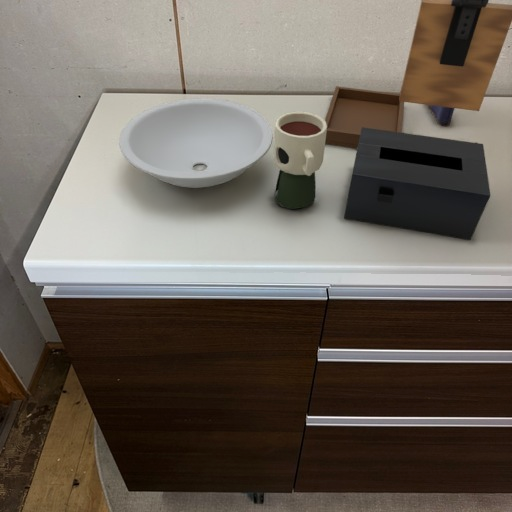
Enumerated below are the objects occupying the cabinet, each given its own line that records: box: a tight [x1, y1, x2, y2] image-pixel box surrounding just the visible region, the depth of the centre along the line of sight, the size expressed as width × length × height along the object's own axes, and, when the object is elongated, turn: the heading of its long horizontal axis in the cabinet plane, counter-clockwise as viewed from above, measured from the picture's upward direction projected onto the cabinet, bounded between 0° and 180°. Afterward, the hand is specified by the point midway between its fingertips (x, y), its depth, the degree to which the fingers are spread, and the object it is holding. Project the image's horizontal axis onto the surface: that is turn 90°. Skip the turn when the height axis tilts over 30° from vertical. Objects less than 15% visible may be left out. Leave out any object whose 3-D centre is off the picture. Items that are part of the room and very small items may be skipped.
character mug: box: [273, 111, 327, 210], centre depth 69 cm, size 11×7×13 cm, turn 12°
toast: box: [399, 0, 512, 112], centre depth 57 cm, size 10×2×12 cm, turn 75°
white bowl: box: [118, 97, 274, 189], centre depth 77 cm, size 24×24×7 cm
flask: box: [427, 105, 455, 127], centre depth 89 cm, size 9×3×11 cm, turn 1°
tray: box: [324, 85, 405, 149], centre depth 89 cm, size 18×14×3 cm
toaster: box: [343, 127, 492, 241], centre depth 70 cm, size 18×14×8 cm
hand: (451, 59), depth 57 cm, fingers closed on toast, 2 cm apart
